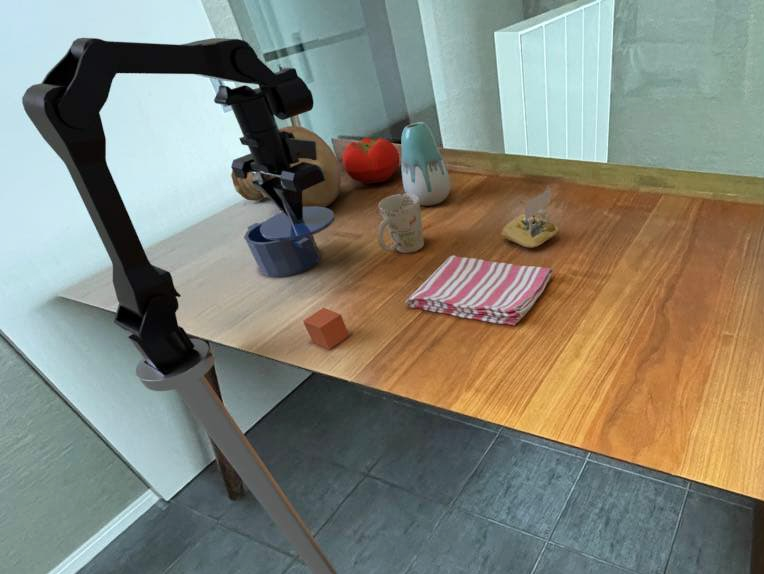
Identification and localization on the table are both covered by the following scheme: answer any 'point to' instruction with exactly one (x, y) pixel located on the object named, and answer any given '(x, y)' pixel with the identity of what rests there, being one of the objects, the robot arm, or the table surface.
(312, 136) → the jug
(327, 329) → the block
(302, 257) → the pot
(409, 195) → the mug
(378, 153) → the tomato
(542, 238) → the tan figurine base
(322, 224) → the pot lid
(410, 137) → the vase
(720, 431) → the table surface
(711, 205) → the table surface
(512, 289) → the dish towel
